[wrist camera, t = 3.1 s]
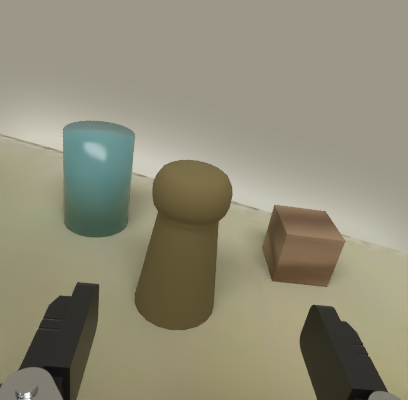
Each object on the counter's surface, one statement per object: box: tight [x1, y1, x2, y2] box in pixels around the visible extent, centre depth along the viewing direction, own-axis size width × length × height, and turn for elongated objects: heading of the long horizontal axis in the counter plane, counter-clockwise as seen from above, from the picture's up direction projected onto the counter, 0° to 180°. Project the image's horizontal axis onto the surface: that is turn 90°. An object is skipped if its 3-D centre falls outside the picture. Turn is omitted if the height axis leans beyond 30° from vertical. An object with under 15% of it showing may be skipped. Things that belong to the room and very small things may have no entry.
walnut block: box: [262, 205, 345, 287], centre depth 34 cm, size 5×5×5 cm
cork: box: [135, 160, 232, 330], centre depth 26 cm, size 6×6×11 cm
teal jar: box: [63, 121, 135, 237], centre depth 35 cm, size 6×6×9 cm
